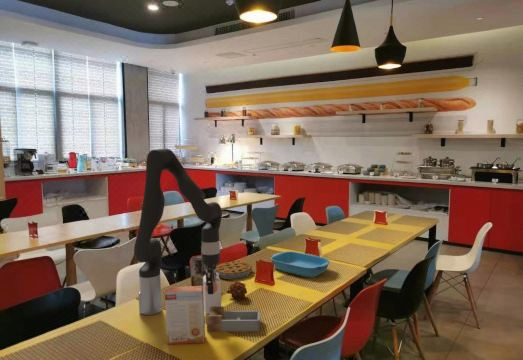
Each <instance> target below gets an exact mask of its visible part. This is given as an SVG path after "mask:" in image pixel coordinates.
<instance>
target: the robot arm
mask: <svg viewBox="0 0 523 360" xmlns="http://www.w3.org/2000/svg"><path fill="white" fill-rule="evenodd" d="M179 160H180V159H178V157H177V155H176V154H175V153H174V152H173V151H172V150H171V149H170V148H153V149H151V150H150V151H149V152H148V154H147V156H146V161H145V162H146V163H145V166H146V167H145V184H144V192H143V198H142V205H141V214H140V220H139V226H138V231H137V236H136V238H135V242H134V247H133V255H134V259H135V260H136V261H137V262H139V263H144V264H143V265H142V266H141V267H140V268H139V270H138V278H139V280H138V281H139V292H138V311H139V314H140V315H146V316H152V315H153V316H154V315H157V314H158V313H161V311H162V310H163V308H162V307H163V306H162V305H163V303H162V284H161V283H162V282H161V280H162V279H161V278H162V277H161V269H162V264H163V262H162V260H163V250H162V249H163V248H162V245H161V242H160V241H159V239H157V238H154V237H152V235H153V233H154V231H155V229H156V228H157V226H158V225H159V222H160V221H161V219H162V218H163V215H164V209H165V202H166V200H165V195H164V192H163V190H162V187H161V176H162V172H163V171H168V172H169V173H170V174H171V175H172V176H173V178H174V179H175V180H176V183H177V187H178V191H180V193H181V194H182V196H183V197H184V198H185V199H186V200H187V201H188V203H189V204H191V207H192V209H193V211H194V212H195V214H196V216H197V217H198V219H199V220H200V221H203V222H206V223H205V225H204V226H203V227H202V228H201V250H200V251H201V256H202V263H203V264H205V265H207V268H206V273H205V275H206V286H208V294H213V285H214V282H215V279H216V269H217V267H216V265H219V264H220V262H221V243H220V226H221V222H222V216H223V211H222V210H223V209H222V207H221V205H220V204H219V202H215V201H214V202H213V201H211V202H208V203H207V202H206V201H205V198H206V194H205V192H204V191H203V190H202V189H201V187H200V186H199V185H197V183H196V182H195V181H194V180H193V179H192V178H191V176H190V175H189V174H188V172H187V170H186V169H185V168H184V166H183V165H182V163H181V161H179ZM209 281H210V282H211V283H209Z"/></svg>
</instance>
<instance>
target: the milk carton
mask: <svg viewBox="0 0 523 360" xmlns="http://www.w3.org/2000/svg"><path fill="white" fill-rule="evenodd" d="M218 275H219V274H218V273H217V272H216V279H215V283H216V284H217V286H218V289H217V291H216V292H215V293H214V294H208V292H207V291H206V275H205V276H203V296H204V315H209V314H210V307H218V306H222V293H221V292H222V284H221V283H222V282H221V277H219V276H218ZM209 282H210V281H209Z"/></svg>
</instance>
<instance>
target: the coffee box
mask: <svg viewBox="0 0 523 360" xmlns="http://www.w3.org/2000/svg"><path fill="white" fill-rule="evenodd" d="M189 264H190V281H191V283H190V284H191V285H190V286H203V276H205V273H206V268H207V265H205V264H203V263H202V255H201V256H199V255H198V256H197V255H196V256H192V257H191V258H190V260H189Z"/></svg>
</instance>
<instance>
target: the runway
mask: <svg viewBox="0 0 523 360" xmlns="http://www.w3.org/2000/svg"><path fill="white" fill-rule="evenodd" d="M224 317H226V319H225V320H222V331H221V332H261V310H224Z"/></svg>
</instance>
